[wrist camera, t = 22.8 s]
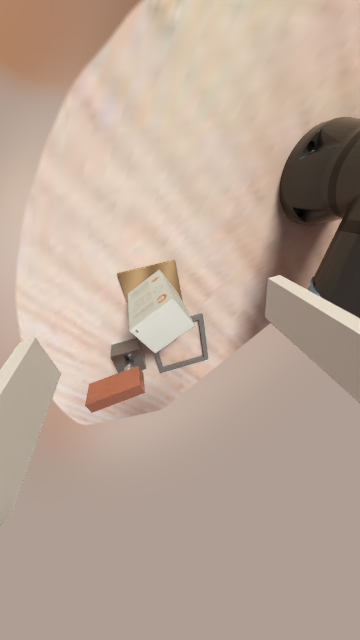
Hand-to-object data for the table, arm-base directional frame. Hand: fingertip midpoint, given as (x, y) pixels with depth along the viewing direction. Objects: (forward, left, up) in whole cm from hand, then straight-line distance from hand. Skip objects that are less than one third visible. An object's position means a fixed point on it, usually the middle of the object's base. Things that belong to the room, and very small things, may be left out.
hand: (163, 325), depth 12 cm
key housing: (+9, +24, -29) cm, 38 cm away
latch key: (+12, +24, -24) cm, 36 cm away
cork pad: (0, +11, -29) cm, 31 cm away
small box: (0, +11, -28) cm, 30 cm away
